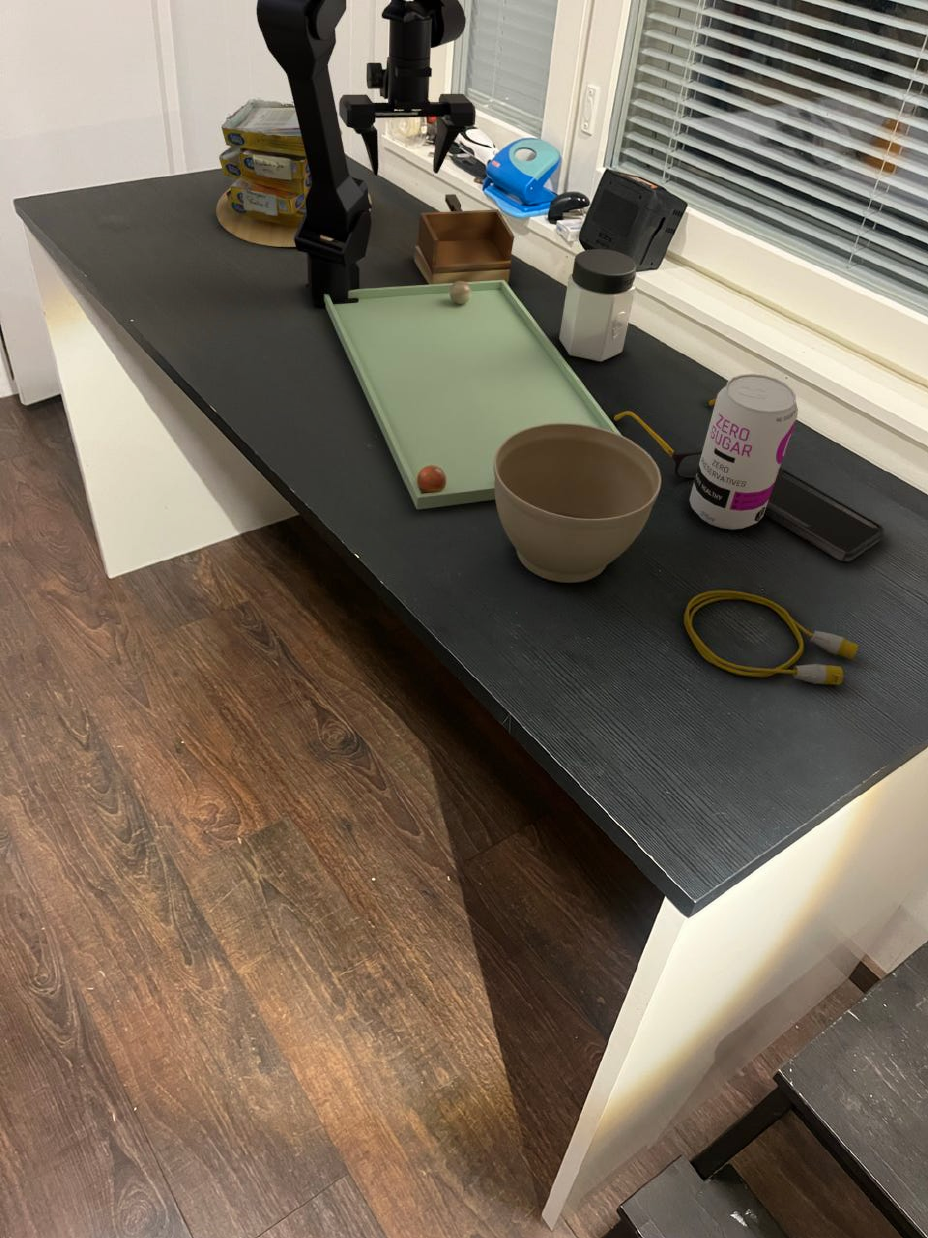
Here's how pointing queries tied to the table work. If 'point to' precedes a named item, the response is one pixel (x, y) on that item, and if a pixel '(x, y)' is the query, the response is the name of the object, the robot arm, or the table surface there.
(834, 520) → the phone
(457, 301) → the ball
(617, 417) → the eyeglasses
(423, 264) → the stand
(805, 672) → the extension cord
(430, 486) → the ball
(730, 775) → the table surface
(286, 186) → the stacked yellow boxes
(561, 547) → the planter bowl
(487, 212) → the wooden ball box
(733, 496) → the supplement can
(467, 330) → the tray
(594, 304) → the jar
